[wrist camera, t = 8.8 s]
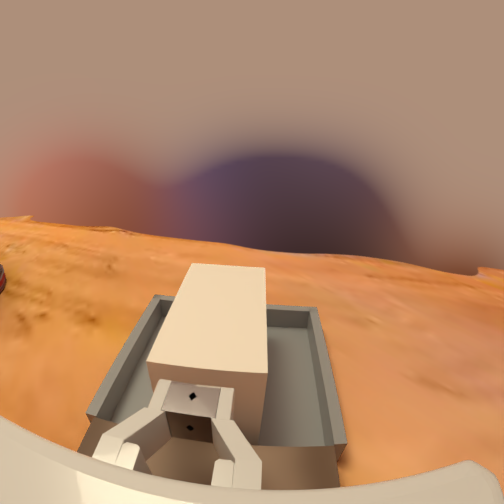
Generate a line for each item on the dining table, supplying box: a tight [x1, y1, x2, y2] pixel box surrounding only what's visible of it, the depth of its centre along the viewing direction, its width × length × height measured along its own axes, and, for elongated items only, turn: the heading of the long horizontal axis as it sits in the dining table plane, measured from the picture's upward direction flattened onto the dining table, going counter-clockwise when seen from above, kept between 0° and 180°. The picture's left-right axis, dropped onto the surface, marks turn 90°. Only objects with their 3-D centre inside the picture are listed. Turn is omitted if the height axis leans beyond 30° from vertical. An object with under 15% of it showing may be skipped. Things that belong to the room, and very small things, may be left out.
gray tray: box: [86, 295, 347, 461], centre depth 22 cm, size 16×16×2 cm
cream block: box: [146, 263, 268, 446], centre depth 21 cm, size 6×7×12 cm
